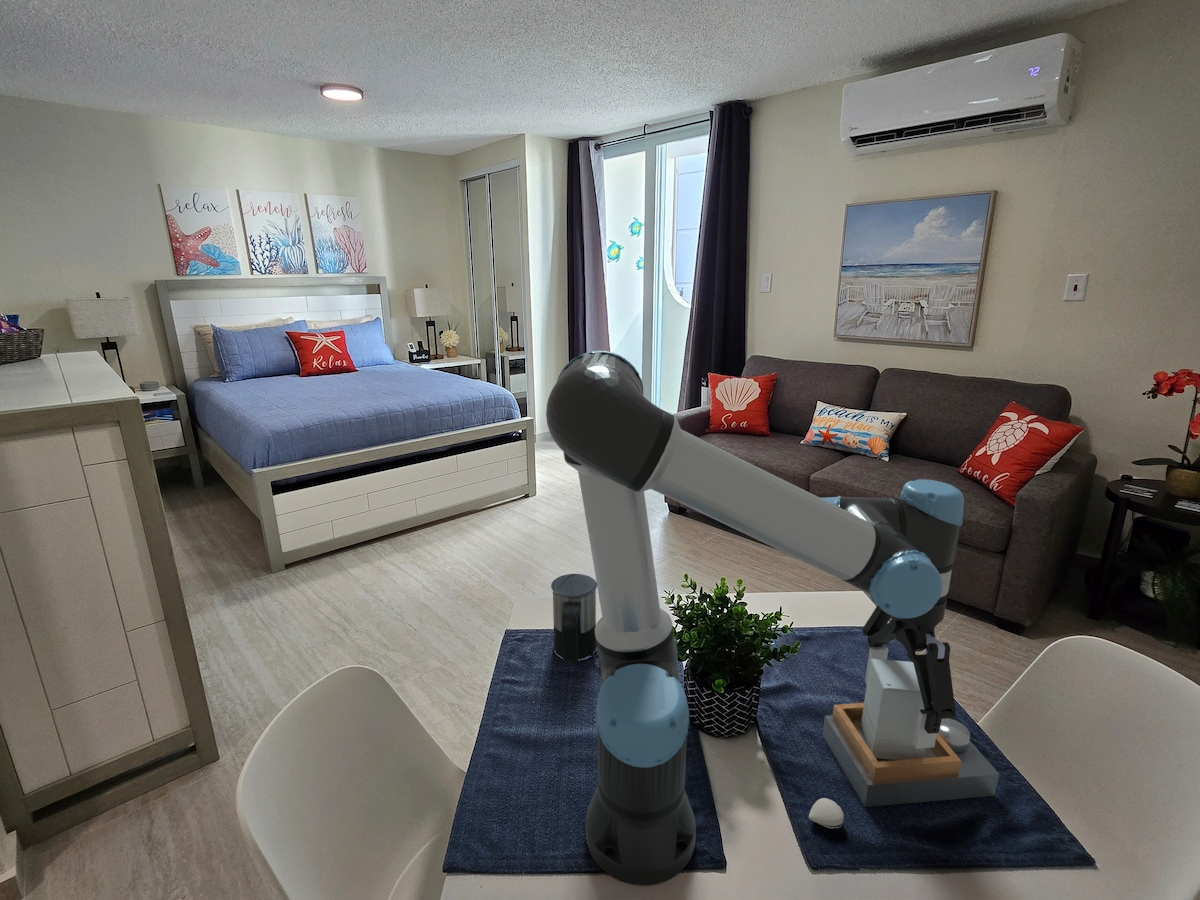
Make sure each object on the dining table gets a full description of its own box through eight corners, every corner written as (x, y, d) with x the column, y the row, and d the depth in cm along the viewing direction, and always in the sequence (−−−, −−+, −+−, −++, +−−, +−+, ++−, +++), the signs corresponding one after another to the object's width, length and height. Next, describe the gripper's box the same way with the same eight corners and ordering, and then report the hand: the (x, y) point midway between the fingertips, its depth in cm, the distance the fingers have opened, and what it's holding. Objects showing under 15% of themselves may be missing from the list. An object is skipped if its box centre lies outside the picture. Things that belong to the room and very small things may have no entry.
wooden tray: (864, 807, 89) (870, 771, 87) (822, 735, 102) (826, 703, 100) (994, 795, 91) (1002, 760, 89) (936, 726, 104) (942, 694, 102)
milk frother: (549, 638, 129) (547, 575, 125) (621, 628, 132) (622, 566, 128) (561, 682, 116) (559, 613, 111) (641, 669, 119) (642, 602, 115)
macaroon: (848, 830, 86) (850, 816, 85) (816, 838, 85) (818, 824, 84) (830, 804, 90) (831, 791, 89) (799, 812, 88) (801, 798, 88)
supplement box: (923, 764, 91) (937, 693, 88) (871, 758, 93) (882, 688, 89) (908, 728, 98) (920, 661, 94) (859, 723, 99) (869, 656, 96)
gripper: (1006, 638, 75) (975, 776, 82) (894, 547, 99) (877, 659, 106) (948, 642, 75) (921, 780, 81) (850, 549, 99) (835, 662, 105)
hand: (896, 712), depth 93 cm, fingers open, 13 cm apart
